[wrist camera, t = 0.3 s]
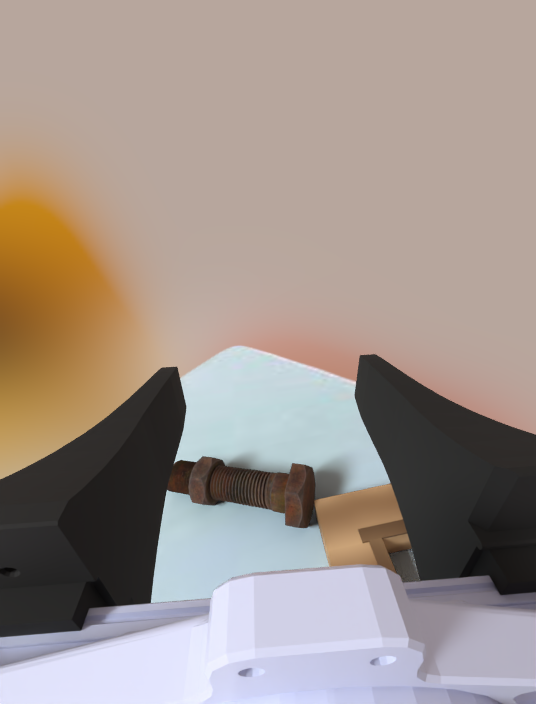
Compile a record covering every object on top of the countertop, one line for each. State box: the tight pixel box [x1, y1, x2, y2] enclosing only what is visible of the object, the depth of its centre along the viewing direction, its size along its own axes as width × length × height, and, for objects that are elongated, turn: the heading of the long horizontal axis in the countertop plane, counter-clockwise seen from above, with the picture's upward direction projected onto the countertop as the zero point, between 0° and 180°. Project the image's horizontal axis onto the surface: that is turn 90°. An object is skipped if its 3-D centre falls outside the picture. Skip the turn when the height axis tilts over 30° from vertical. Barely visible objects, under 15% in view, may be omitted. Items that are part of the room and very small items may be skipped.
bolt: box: [167, 456, 315, 528], centre depth 31 cm, size 6×5×15 cm
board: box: [314, 484, 412, 574], centre depth 23 cm, size 14×14×3 cm
